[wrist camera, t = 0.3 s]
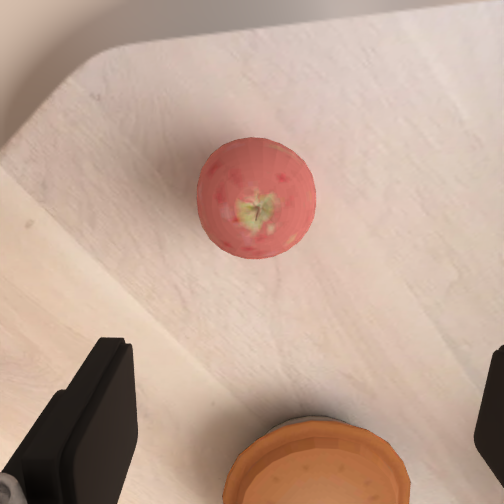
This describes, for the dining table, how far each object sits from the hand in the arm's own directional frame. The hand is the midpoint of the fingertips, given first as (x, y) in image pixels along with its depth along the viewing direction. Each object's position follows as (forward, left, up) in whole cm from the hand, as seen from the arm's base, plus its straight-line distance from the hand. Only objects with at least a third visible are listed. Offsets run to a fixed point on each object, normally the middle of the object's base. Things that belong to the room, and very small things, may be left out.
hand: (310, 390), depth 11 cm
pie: (+23, +5, -21) cm, 32 cm away
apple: (-2, -1, -21) cm, 21 cm away
